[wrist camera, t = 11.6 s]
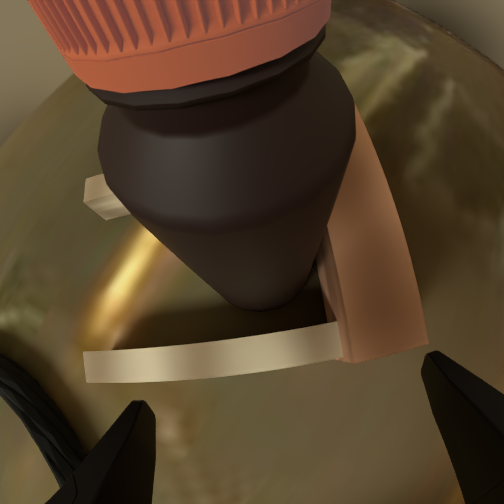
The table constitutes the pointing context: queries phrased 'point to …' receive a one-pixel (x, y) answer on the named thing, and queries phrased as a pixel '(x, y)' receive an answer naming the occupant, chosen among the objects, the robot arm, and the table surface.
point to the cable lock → (41, 420)
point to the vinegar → (217, 129)
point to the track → (332, 285)
